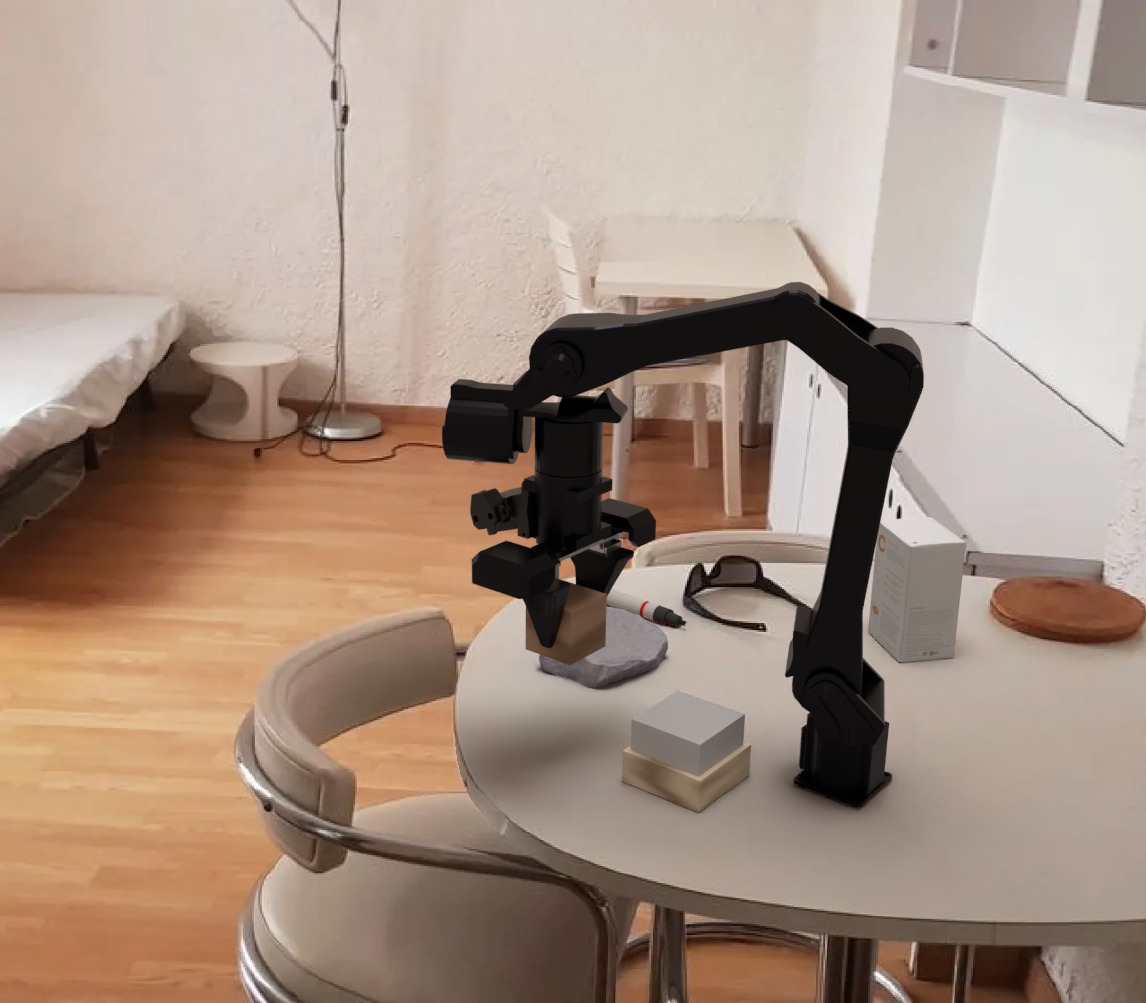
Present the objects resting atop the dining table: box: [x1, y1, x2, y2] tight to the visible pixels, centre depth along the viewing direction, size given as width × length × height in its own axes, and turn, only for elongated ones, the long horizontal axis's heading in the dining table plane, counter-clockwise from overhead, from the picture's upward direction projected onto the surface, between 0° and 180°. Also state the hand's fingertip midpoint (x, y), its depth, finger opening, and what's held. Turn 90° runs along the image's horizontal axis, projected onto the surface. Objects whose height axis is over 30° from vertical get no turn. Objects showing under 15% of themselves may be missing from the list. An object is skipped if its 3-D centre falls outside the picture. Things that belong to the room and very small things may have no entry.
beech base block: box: [621, 741, 752, 813], centre depth 121 cm, size 8×8×3 cm
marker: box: [606, 588, 688, 627], centre depth 156 cm, size 15×2×2 cm, turn 49°
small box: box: [867, 516, 967, 663], centre depth 146 cm, size 8×6×13 cm
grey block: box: [630, 690, 746, 777], centre depth 120 cm, size 7×7×3 cm
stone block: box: [538, 606, 669, 689], centre depth 143 cm, size 12×5×10 cm
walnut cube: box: [525, 579, 607, 665], centre depth 122 cm, size 5×5×5 cm
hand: (566, 636), depth 122 cm, fingers closed on walnut cube, 5 cm apart
